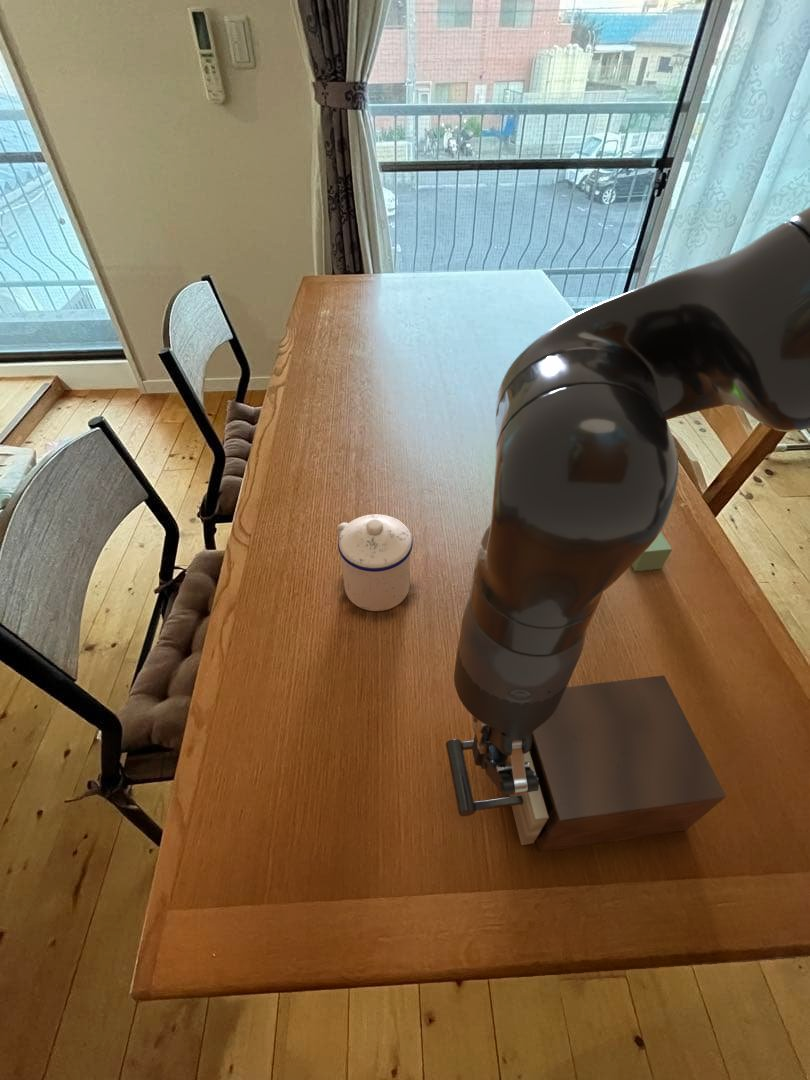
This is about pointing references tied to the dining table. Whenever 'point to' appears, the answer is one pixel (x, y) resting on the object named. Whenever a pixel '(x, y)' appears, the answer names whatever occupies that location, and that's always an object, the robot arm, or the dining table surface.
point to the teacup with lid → (375, 561)
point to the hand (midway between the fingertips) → (485, 756)
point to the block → (653, 555)
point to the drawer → (526, 807)
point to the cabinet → (621, 765)
